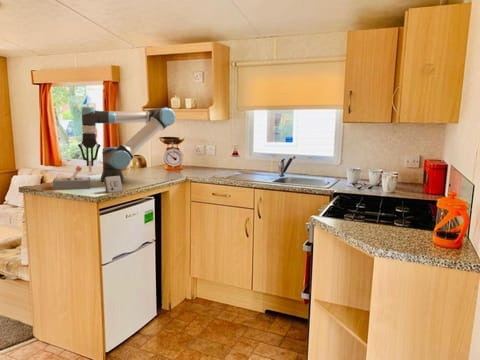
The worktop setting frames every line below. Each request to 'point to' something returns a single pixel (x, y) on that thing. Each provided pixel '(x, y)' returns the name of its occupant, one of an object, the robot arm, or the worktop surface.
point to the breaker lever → (76, 172)
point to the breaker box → (71, 183)
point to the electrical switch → (113, 184)
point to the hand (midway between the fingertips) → (90, 171)
